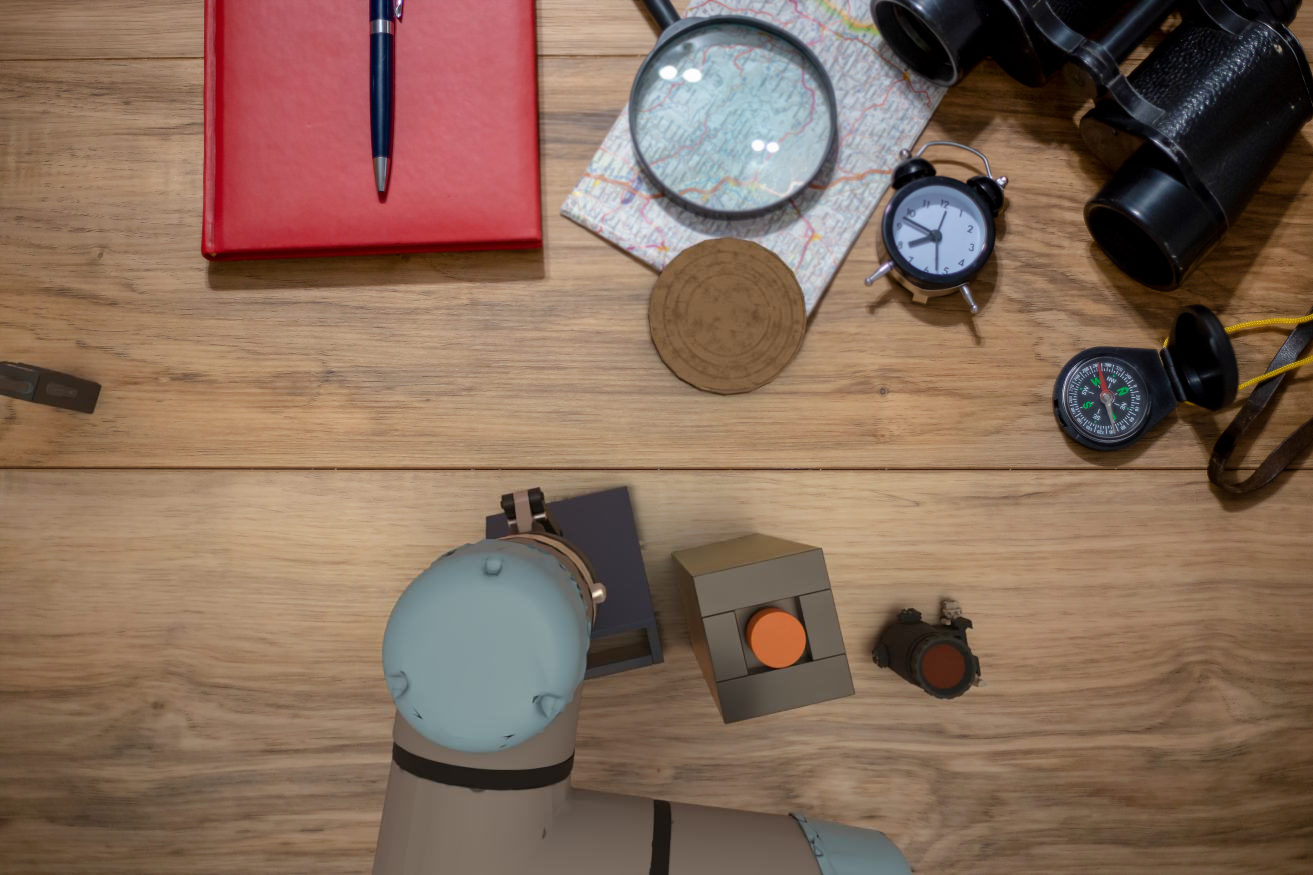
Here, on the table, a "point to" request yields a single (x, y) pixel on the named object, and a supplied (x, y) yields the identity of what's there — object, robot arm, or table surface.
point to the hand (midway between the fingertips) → (561, 571)
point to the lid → (603, 555)
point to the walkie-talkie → (48, 387)
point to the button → (776, 637)
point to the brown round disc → (727, 316)
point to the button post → (731, 592)
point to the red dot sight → (931, 652)
